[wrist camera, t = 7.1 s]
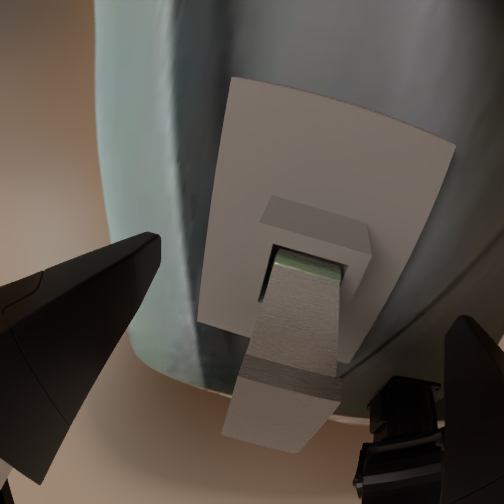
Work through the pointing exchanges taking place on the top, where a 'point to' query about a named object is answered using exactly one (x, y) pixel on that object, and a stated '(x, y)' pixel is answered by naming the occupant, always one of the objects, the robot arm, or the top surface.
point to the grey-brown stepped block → (290, 358)
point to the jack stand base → (314, 202)
